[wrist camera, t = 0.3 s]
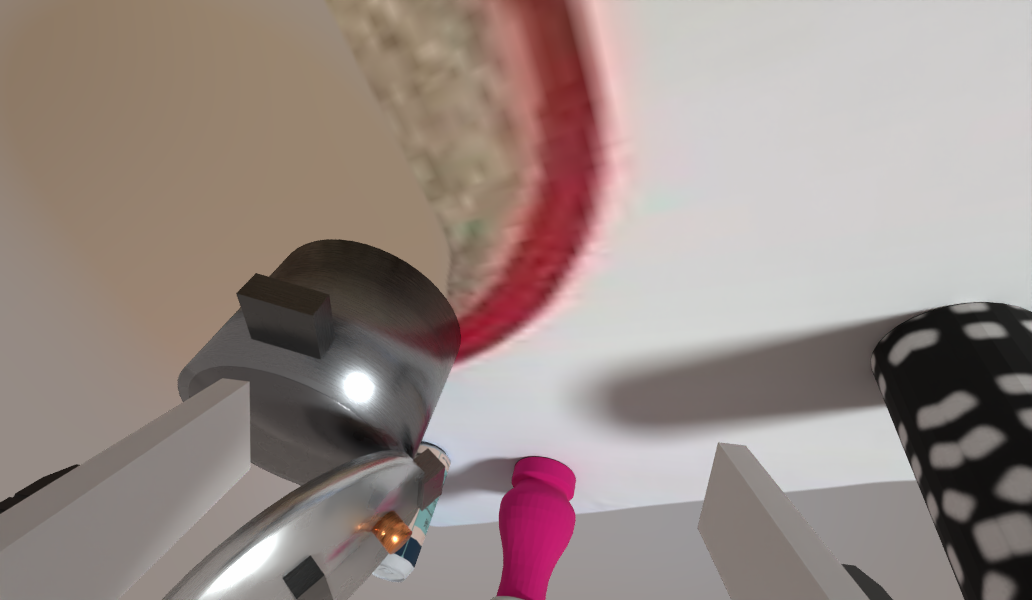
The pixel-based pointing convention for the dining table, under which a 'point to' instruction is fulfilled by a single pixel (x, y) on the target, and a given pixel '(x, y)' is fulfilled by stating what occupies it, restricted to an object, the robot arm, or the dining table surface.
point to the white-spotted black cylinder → (968, 436)
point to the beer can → (406, 557)
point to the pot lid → (321, 533)
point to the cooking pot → (333, 357)
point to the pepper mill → (534, 526)
